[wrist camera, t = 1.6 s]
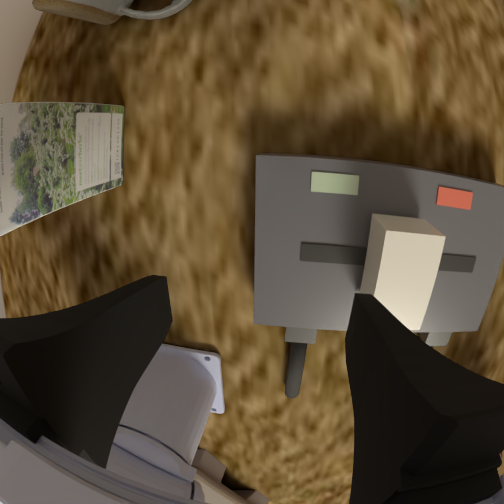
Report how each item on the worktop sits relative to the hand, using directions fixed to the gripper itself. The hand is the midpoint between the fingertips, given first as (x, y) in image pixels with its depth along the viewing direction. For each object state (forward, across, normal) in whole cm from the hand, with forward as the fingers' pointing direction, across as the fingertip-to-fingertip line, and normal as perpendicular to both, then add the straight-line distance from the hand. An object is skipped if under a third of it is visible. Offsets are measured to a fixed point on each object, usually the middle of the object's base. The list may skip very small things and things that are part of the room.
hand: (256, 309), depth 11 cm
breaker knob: (+5, -6, 0) cm, 9 cm away
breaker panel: (+8, -7, +4) cm, 12 cm away
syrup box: (+9, +13, -6) cm, 17 cm away
